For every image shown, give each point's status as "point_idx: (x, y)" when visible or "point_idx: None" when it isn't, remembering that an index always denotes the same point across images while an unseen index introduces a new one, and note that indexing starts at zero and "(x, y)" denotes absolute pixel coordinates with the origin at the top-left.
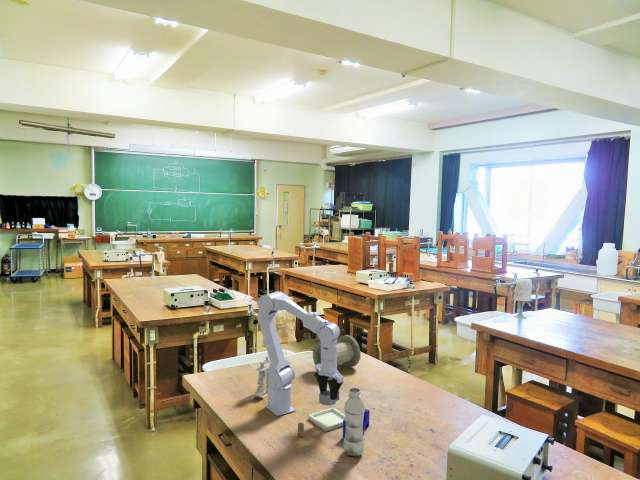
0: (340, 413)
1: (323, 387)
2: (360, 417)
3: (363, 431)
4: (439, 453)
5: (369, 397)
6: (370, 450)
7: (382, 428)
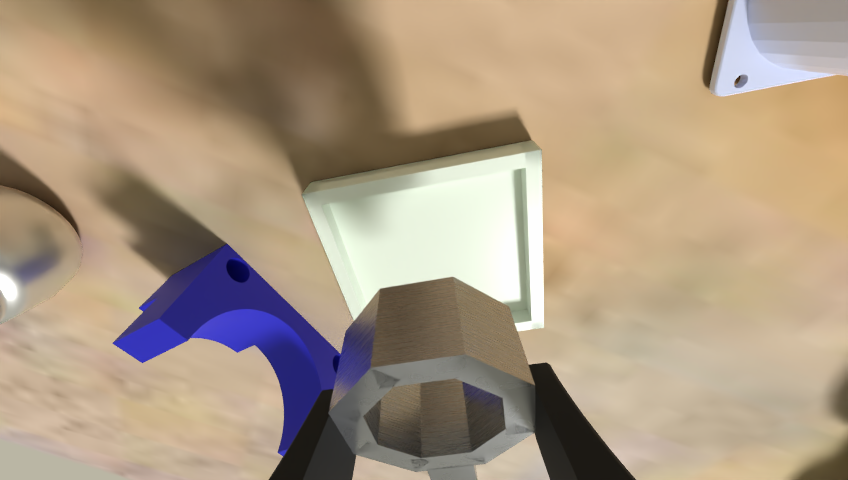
0: None
1: (551, 452)
2: None
3: (234, 347)
4: (84, 460)
5: None
6: (80, 304)
7: None
